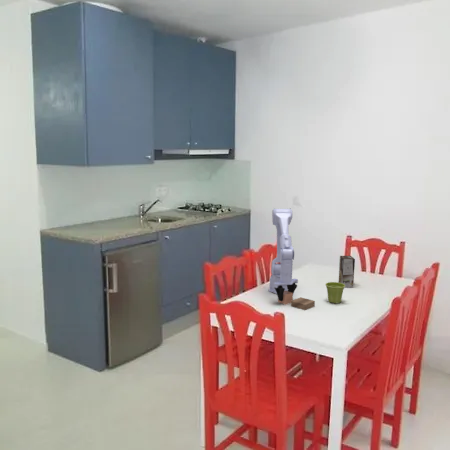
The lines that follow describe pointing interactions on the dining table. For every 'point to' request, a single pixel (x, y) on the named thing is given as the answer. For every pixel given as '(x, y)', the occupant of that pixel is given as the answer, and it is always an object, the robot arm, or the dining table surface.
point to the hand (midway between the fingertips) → (285, 299)
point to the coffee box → (346, 271)
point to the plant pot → (334, 291)
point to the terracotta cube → (287, 298)
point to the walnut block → (302, 303)
